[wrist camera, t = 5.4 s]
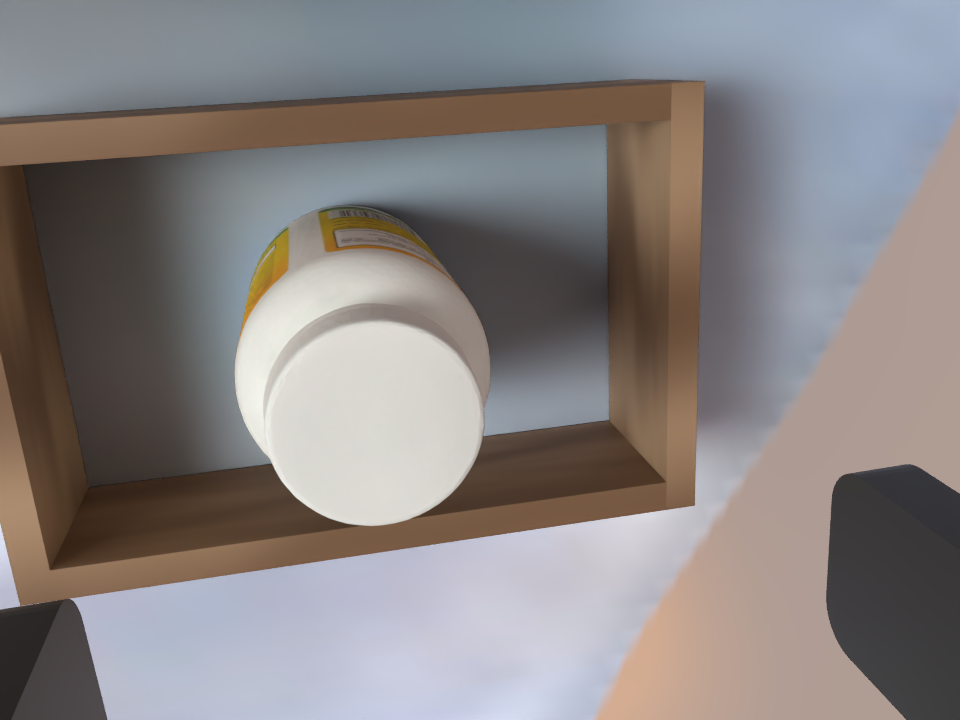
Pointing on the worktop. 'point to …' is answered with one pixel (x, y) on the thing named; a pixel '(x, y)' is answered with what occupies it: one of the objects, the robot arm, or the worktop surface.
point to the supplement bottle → (361, 367)
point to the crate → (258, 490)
